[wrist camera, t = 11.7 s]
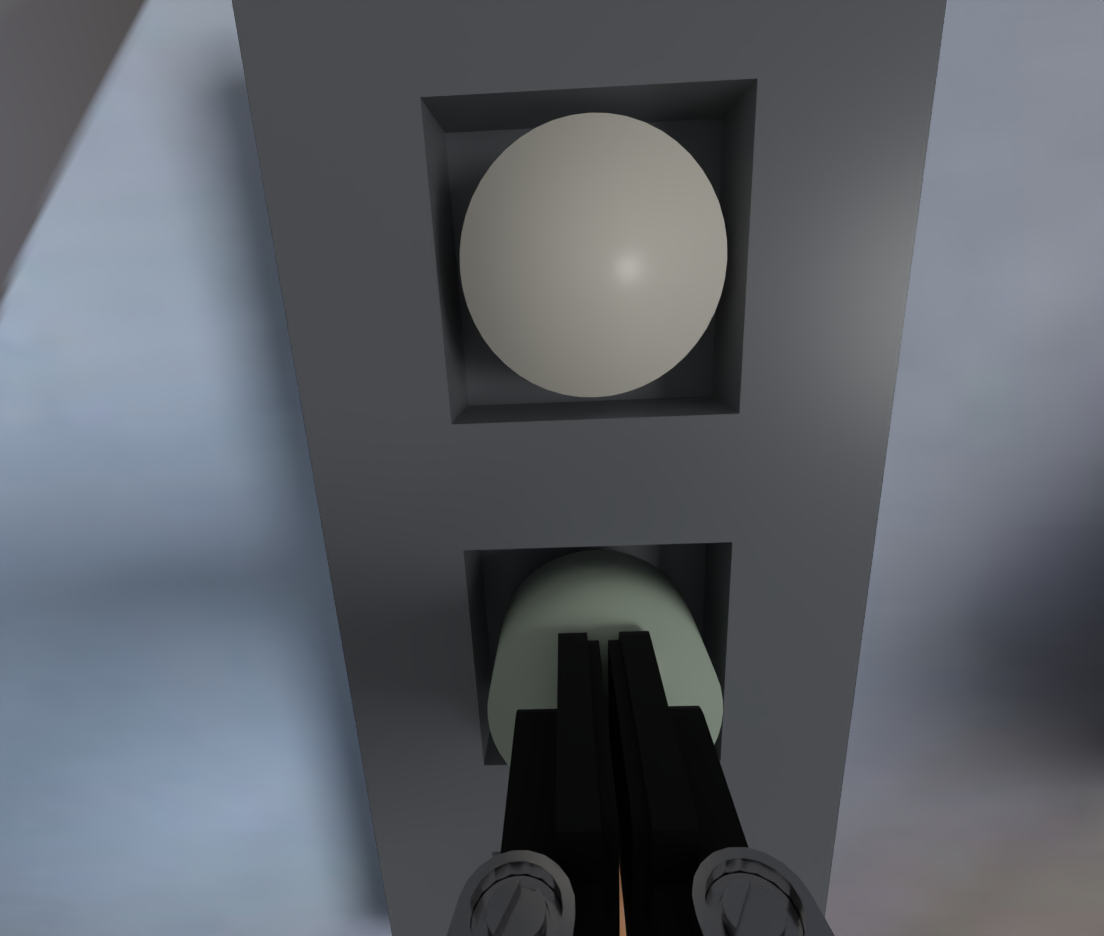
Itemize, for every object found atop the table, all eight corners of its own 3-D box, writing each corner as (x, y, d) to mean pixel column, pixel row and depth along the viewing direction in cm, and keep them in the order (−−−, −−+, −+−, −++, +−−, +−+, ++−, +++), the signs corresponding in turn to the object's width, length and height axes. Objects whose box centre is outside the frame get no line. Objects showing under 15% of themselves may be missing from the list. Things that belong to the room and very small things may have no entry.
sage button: (690, 715, 13) (718, 804, 11) (507, 719, 14) (495, 808, 11) (696, 546, 12) (728, 607, 10) (494, 552, 12) (478, 614, 10)
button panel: (763, 913, 19) (807, 1046, 15) (438, 916, 19) (411, 1048, 16) (842, 35, 12) (955, -73, 8) (321, 65, 12) (226, -27, 9)
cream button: (690, 374, 12) (721, 392, 10) (488, 382, 12) (470, 401, 10) (696, 148, 11) (734, 104, 9) (472, 159, 11) (447, 120, 9)
